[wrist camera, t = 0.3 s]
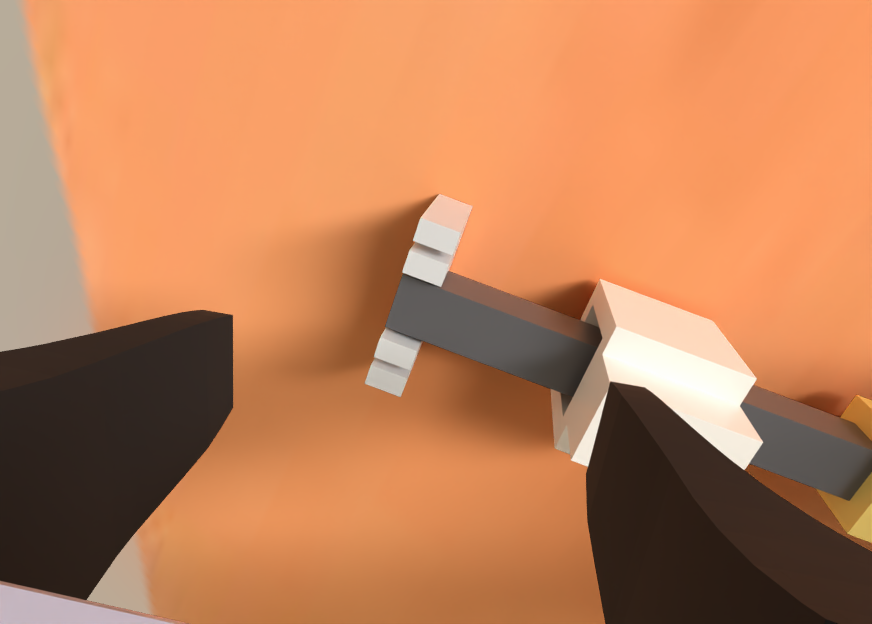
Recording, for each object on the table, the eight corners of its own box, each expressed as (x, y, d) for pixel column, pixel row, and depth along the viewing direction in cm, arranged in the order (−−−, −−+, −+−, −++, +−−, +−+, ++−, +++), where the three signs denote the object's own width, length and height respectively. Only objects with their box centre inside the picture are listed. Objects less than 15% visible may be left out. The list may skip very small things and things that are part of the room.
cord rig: (974, 393, 20) (1078, 466, 16) (873, 517, 22) (944, 607, 18) (439, 193, 20) (418, 220, 16) (390, 336, 22) (361, 388, 19)
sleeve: (712, 321, 20) (783, 413, 15) (654, 421, 22) (698, 539, 16) (599, 278, 20) (626, 354, 15) (549, 382, 22) (557, 486, 16)
